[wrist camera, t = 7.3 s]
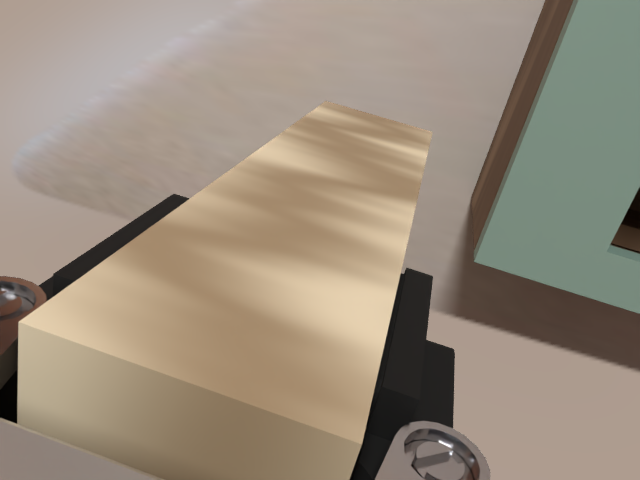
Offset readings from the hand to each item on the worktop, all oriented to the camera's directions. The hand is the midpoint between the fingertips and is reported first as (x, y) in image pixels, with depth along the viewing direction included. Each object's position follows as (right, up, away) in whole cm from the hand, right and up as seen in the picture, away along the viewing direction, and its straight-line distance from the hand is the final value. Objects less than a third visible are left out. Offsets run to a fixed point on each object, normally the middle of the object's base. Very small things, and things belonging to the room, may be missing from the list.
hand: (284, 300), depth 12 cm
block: (+2, +4, +10) cm, 11 cm away
